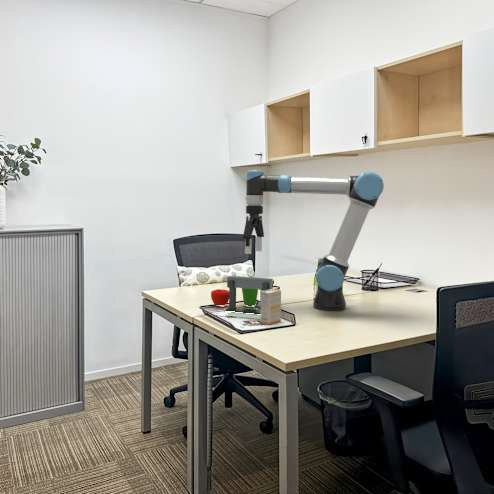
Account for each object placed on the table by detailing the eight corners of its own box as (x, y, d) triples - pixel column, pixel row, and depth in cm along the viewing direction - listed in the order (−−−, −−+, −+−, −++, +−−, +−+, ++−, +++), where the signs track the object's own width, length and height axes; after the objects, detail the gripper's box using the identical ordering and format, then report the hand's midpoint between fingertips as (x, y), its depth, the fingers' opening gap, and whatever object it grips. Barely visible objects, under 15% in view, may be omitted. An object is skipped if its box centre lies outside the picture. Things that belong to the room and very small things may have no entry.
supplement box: (271, 319, 210) (272, 288, 208) (281, 321, 207) (281, 289, 205) (259, 323, 203) (260, 291, 202) (269, 325, 200) (269, 292, 199)
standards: (274, 313, 222) (274, 281, 221) (269, 316, 216) (270, 283, 215) (229, 309, 229) (230, 278, 228) (224, 311, 223) (224, 280, 222)
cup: (257, 309, 230) (258, 285, 229) (238, 308, 232) (238, 284, 231) (261, 305, 239) (261, 282, 238) (242, 304, 240) (242, 281, 240)
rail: (272, 288, 220) (272, 278, 219) (270, 290, 217) (270, 279, 216) (230, 285, 227) (230, 275, 226) (227, 286, 223) (227, 276, 223)
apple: (208, 305, 238) (208, 288, 237) (226, 304, 241) (226, 287, 240) (213, 309, 229) (213, 292, 228) (232, 307, 232) (232, 291, 232)
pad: (269, 317, 214) (269, 315, 214) (264, 320, 208) (264, 319, 208) (222, 312, 222) (222, 311, 222) (215, 315, 215) (215, 314, 215)
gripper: (256, 204, 237) (255, 249, 239) (236, 204, 214) (235, 254, 216) (271, 205, 234) (270, 250, 236) (252, 205, 211) (251, 255, 213)
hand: (253, 252), depth 226 cm, fingers open, 13 cm apart
